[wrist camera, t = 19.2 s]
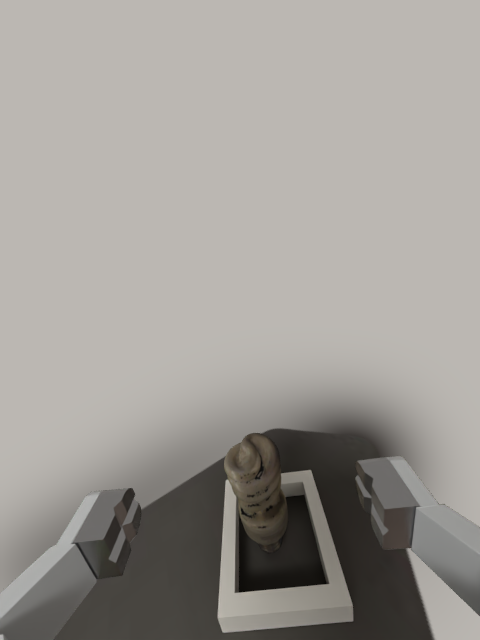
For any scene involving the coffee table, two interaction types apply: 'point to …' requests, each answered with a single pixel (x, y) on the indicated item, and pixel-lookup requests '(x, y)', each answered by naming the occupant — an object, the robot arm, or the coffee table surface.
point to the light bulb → (258, 489)
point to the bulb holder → (287, 602)
